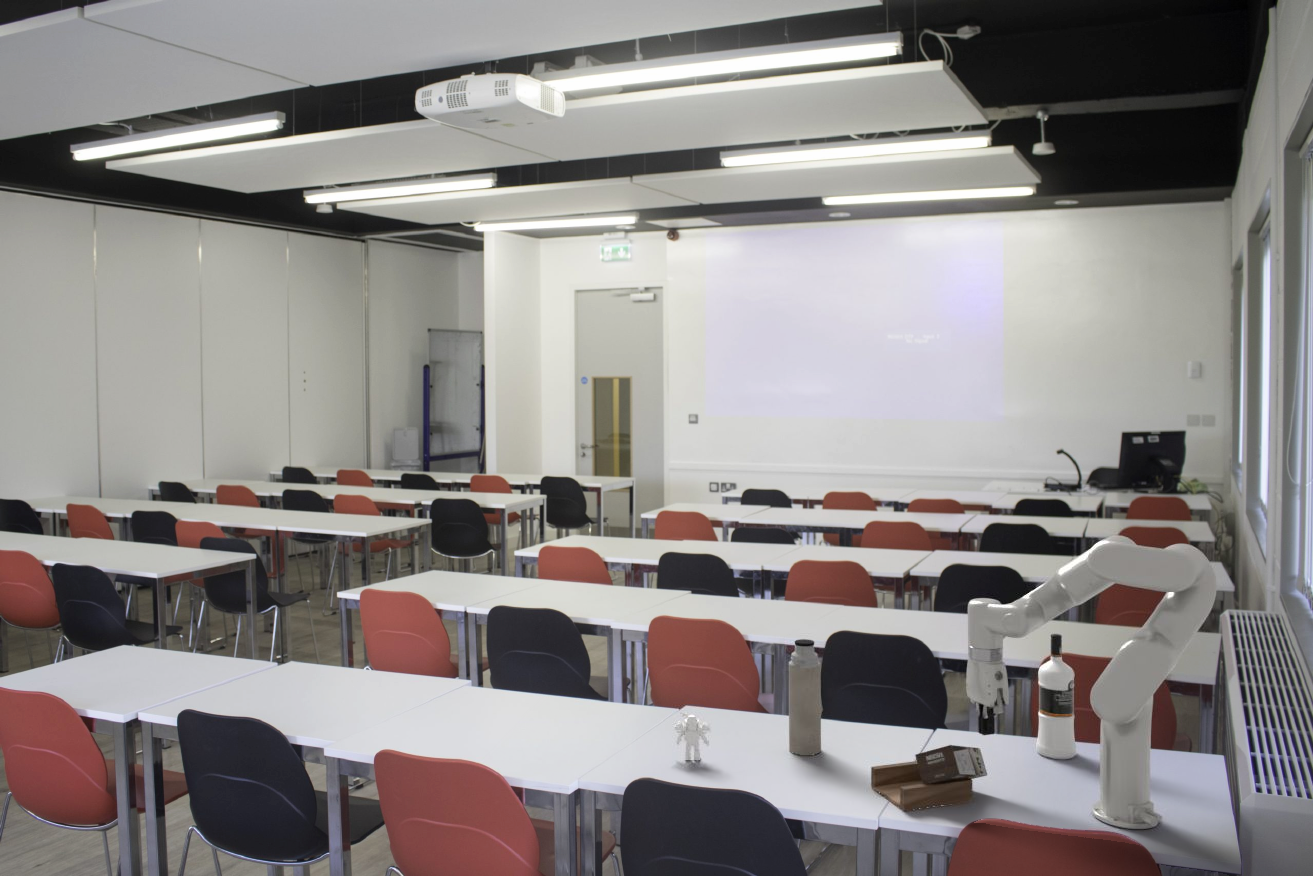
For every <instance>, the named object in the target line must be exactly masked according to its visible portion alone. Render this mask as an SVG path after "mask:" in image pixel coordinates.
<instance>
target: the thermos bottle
mask: <svg viewBox="0 0 1313 876" xmlns="http://www.w3.org/2000/svg"><path fill="white" fill-rule="evenodd" d="M794 645H795V646H794V651H793V652H791V655H790V656H791V657H790V661H788V749H789V752H790V751H791V752H790V753H792V752H793V753H795V754H794V755H797V754H800V755H799V756H802V755H812V756H814V755H813V754H817V753H819V752H820V751H821V752H822V711H821V710H822V697H821V694H822V693H821V690H822V689H821V688H822V687H821V686H822V685H821V683H822V680H821V677H822V675H821V674H822V673H821V670H822V669H821V667H822V666H821V665H822V664H821V662H820V661H819V660H818V659H819V655H818V654H819V653H817V652H815V646H814V645H815V641H814V640H812V639H807V638H806V639H805V638H801V639H796V640H794ZM821 752H820V753H821ZM793 753H792V754H793ZM820 753H819V754H820ZM817 755H818V754H817Z"/></svg>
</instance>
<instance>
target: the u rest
mask: <svg viewBox="0 0 1313 876" xmlns="http://www.w3.org/2000/svg"><path fill="white" fill-rule="evenodd" d="M870 769H871V771H870V775H871V776H870V777H871V778H870V779H871V781H870V782H871V783H870V785H871V786H870V787H873V788H874V789H875V790H877V791H878V792H880V793H881V794H882V795H884V796H885V797H886V798H887V799H888V800H887V799H886V798H885V797H884V798H885V799H886V800H887V801H888V802H890V803H891V804H893V805H894V804H895V805H894V806H896V807H897V808H898V807H899V810H901V809H902V810H903V811H902V810H901V811H902V812H904V811H905V812H908V811H907V810H912V811H914V810H913V809H919V808H926V809H928V808H927V807H933V806H939V807H942V806H941V805H946V806H951V805H950V804H953V805H959V803H960V804H966V803H972V802H973V779H970V778H962V779H955V780H948V781H940V782H933V783H923V782H922V779H921V775H920V771H919V767H918V763H917V760H914V761H906V762H900V763H891V764H883V765H875V766H871V768H870ZM874 789H873V790H874ZM875 790H874V791H875ZM877 791H876V792H877ZM878 792H877V793H878ZM881 794H880V795H881ZM882 795H881V796H882ZM933 808H934V807H933ZM919 810H920V809H919Z"/></svg>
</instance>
